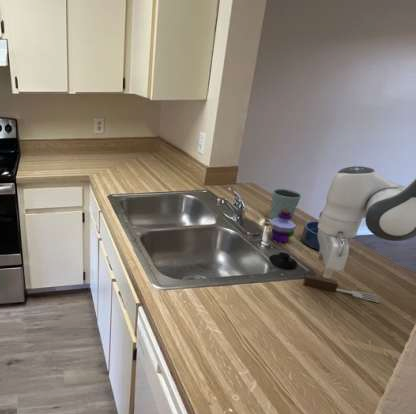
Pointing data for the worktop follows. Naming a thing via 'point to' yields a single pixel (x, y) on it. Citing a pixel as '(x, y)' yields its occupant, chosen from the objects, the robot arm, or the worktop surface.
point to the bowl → (311, 234)
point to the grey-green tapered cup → (283, 202)
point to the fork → (332, 286)
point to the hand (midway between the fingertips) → (323, 267)
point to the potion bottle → (282, 226)
